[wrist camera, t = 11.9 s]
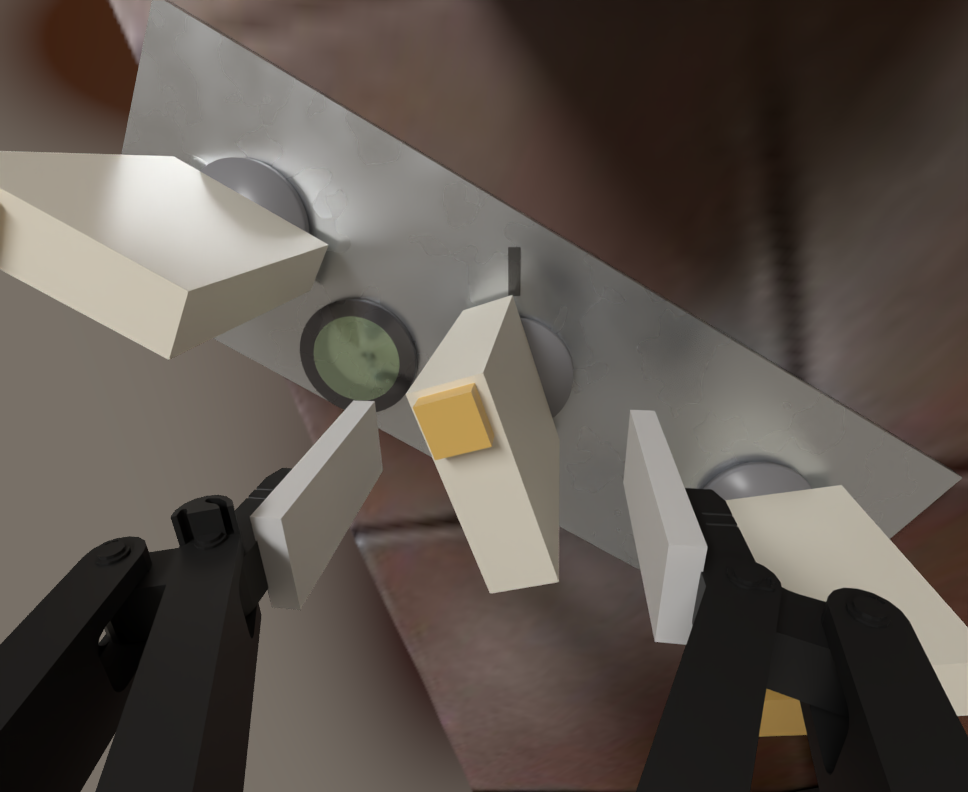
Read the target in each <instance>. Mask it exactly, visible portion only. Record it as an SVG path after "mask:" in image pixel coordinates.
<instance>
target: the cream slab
mask: <svg viewBox="0 0 968 792" xmlns="http://www.w3.org/2000/svg"><path fill="white" fill-rule="evenodd" d="M327 248H328V244H326V243H325V242H323V241H321V240H319V239H318V238H316V237H314V236H312V235H311V234H309V223H308V219H307V214H306V211H305V208H304V206H303V203H302V201H301V199H300V197H299V196H298V194H297V192H296V191H295V189H294V188H293V187H292V185H291V184H290V183H289V182H288V181H287V180H286V178H285V177H284V176H282V175H281V174H280V173H279V172H278V171H276V170H275V169H273V168H272V167H270V166H269V165H267V164H265V163H263V162H260V161H257V160H254V159H249V158H237V157H229V158H222V159H219V160H215V161H213V162H211V163H209V164H208V165H206V166H205V167H203V168H202V169H201V170H200V171H199V170H197V169H195V168H193V167H192V166H190V165H188V164H186V163H185V162H183V161H181V160H179V159H178V158H176V157H174V156H150V155H115V154H83V153H50V152H16V151H15V152H14V151H0V270H2V271H4V272H6V273H8V274H10V275H12V276H13V277H15V278H17V279H19V280H21V281H23V282H25V283H26V284H28V285H30V286H32V287H34V288H36V289H37V290H39V291H41V292H43V293H45V294H47V295H49V296H51V297H52V298H54V299H56V300H58V301H60V302H62V303H64V304H65V305H67V306H69V307H71V308H73V309H75V310H77V311H79V312H80V313H82V314H84V315H86V316H88V317H90V318H92V319H93V320H95V321H97V322H99V323H101V324H103V325H105V326H107V327H108V328H110V329H112V330H114V331H116V332H118V333H120V334H122V335H123V336H125V337H127V338H129V339H131V340H133V341H135V342H136V343H138V344H140V345H142V346H144V347H146V348H148V349H150V350H151V351H153V352H155V353H157V354H159V355H161V356H163V357H165V358H167V359H168V360H170V359H172V358H174V357H176V356H178V355H180V354H182V353H184V352H186V351H188V350H190V349H192V348H194V347H196V346H198V345H200V344H202V343H204V342H206V341H208V340H211V339H213V338H215V337H217V336H219V335H221V334H223V333H225V332H227V331H229V330H231V329H233V328H235V327H237V326H239V325H241V324H243V323H245V322H247V321H249V320H251V319H253V318H255V317H257V316H260V315H262V314H264V313H266V312H268V311H270V310H272V309H274V308H276V307H278V306H280V305H282V304H284V303H286V302H288V301H290V300H292V299H294V298H296V297H298V296H300V295H302V294H304V293H306V292H309V291H311V288H312V286H313V283H314V281H315V278H316V276H317V273H318V271H319V268H320V265H321V263H322V260H323V258H324V255H325V253H326V250H327Z"/></svg>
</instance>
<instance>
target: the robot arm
mask: <svg viewBox="0 0 968 792" xmlns="http://www.w3.org/2000/svg"><path fill="white" fill-rule="evenodd" d="M382 471H383V468H382V459H381V450H380V442H379V433H378V425H377V416H376V408H375V401H353V402H352V403H351V404H350V405H349V406H348V407H347V408H346V409H345V411H344V412H343V413H342V414H341V415H340V416H339V417H338V418H337V419H336V421H335V422H334V423H333V424H332V425H331V426H330V427H329V428H328V430H327V431H326V432H325V433H324V434H323V435H322V436H321V437H320V439H319V440H318V441H317V442H316V443H315V444H314V445H313V446H312V448H311V449H310V450H309V451H308V452H307V453H306V454H305V455H304V456H303V458H302V459H301V460H300V461H299V462H298V463H297V464H296V465H295V467H294V468H293V469H290V468H281V469H280V470H278V471H276V472H275V473H273V474H271V475H270V476H268V477H266V479H264V481H263V482H262V483H261V484H260V485H259V486H258V487H257V490H254V491H253V492H252V493H251V494H250V495H249V498H247V499H245V501H244V502H243V503H242V504H241V505H240V506H239V507H238V508H237V509H236V510H234V506H233V502H232V500H231V499H230V498H228V497H227V496H221V495H212V496H204V497H201V498H197V499H194V500H192V501H190V502H187V503H185V504H183V505H182V506H181V507H179V508H178V509H176V510H175V512H174V513H173V514H172V516H171V520H172V523H173V526H174V529H175V532H176V536H177V539H178V542H179V545H180V547H179V548H175V549H169V550H162V551H155V552H149V551H148V549H147V546H146V543H145V540H143V539H141V538H139V537H123V538H117V539H113V540H111V541H107V542H105V543H103V544H101V545H100V546H98V547H96V548H94V549H92V550H91V551H90V552H89V553H87V554H86V555H85V556H84V557H83V558H82V559H81V560H80V561H79V562H78V563H77V564H76V565H75V566H74V567H73V568H72V570H70V572H69V573H68V574H67V575H66V576H65V577H64V578H63V579H62V580H61V581H60V582H59V583H58V584H57V585H56V587H54V589H52V590H51V592H50V593H49V594H48V595H47V596H46V597H45V598H44V599H43V600H42V601H41V602H40V603H39V604H38V605H37V606H36V608H34V610H33V611H32V612H31V613H30V614H29V615H28V616H27V617H26V618H25V619H24V620H23V621H22V622H21V623H20V624H19V625H18V627H17V628H16V629H15V630H14V631H13V632H12V633H11V634H10V635H9V636H8V637H7V638H6V639H5V640H4V641H3V642H2V644H0V792H80V791H81V790H82V788H83V786H84V785H85V783H86V781H87V780H88V778H89V776H90V775H91V773H92V771H93V770H94V768H95V766H96V764H97V763H98V761H99V759H100V758H101V756H102V754H103V753H104V751H105V749H106V748H107V746H108V744H109V743H110V741H111V739H112V737H113V736H114V734H115V736H114V739H113V742H112V745H111V748H110V751H109V754H108V756H107V760H106V763H105V765H104V768H103V771H102V774H101V777H100V780H99V783H98V786H97V789H96V792H243V788H244V778H245V768H246V759H247V749H248V740H249V729H250V719H251V711H252V701H253V692H254V682H255V672H256V662H257V652H258V643H259V634H260V624H261V612H260V607H259V604H258V602H259V601H260V599H261V598H262V597H263V595H264V594H265V592H266V591H267V590H268V593H269V598H270V602H271V606H272V607H275V608H286V609H297V610H301V608H302V607H303V605H304V603H305V601H306V600H307V598H308V596H309V595H310V593H311V591H312V590H313V588H314V586H315V584H316V583H317V581H318V579H319V578H320V576H321V574H322V573H323V571H324V569H325V567H326V566H327V564H328V562H329V561H330V559H331V557H332V556H333V554H334V552H335V551H336V549H337V547H338V545H339V544H340V542H341V540H342V539H343V537H344V535H345V534H346V532H347V530H348V528H349V527H350V525H351V523H352V522H353V520H354V518H355V517H356V515H357V513H358V512H359V510H360V508H361V506H362V505H363V503H364V501H365V500H366V498H367V496H368V495H369V493H370V491H371V489H372V488H373V486H374V484H375V483H376V481H377V479H378V478H379V476H380V474H381V472H382ZM623 484H624V489H625V494H626V499H627V504H628V509H629V514H630V519H631V524H632V529H633V534H634V540H635V545H636V550H637V555H638V560H639V565H640V570H641V575H642V580H643V585H644V590H645V595H646V600H647V605H648V610H649V615H650V620H651V625H652V630H653V635H654V640H655V642H663V643H674V644H685V645H686V647H685V650H684V653H683V656H682V659H681V662H680V665H679V667H678V670H677V673H676V676H675V679H674V682H673V685H672V688H671V691H670V694H669V697H668V700H667V703H666V706H665V708H664V711H663V714H662V717H661V720H660V723H659V726H658V729H657V732H656V735H655V738H654V741H653V744H652V747H651V750H650V752H649V755H648V758H647V761H646V764H645V767H644V770H643V773H642V776H641V779H640V782H639V785H638V788H637V791H636V792H750V788H751V782H752V776H753V770H754V763H755V757H756V751H757V745H758V739H759V732H760V726H761V720H762V714H763V707H764V701H765V695H766V689H769V690H772V691H775V692H777V693H780V694H783V695H786V696H788V697H791V698H794V699H797V700H799V701H800V705H801V710H802V714H803V719H804V723H805V727H806V732H807V736H808V741H809V745H810V750H811V754H812V759H813V763H814V768H815V772H816V777H817V781H818V786H819V788H813V789H806V790H802V791H797V792H968V736H967V734H966V732H965V730H964V728H963V726H962V724H961V723H960V721H959V719H958V717H957V715H956V713H955V711H954V709H953V707H952V705H951V703H950V701H949V699H948V697H947V695H946V693H945V691H944V689H943V687H942V685H941V683H940V681H939V679H938V677H937V675H936V673H935V671H934V669H933V667H932V665H931V663H930V661H929V659H928V657H927V655H926V653H925V651H924V649H923V647H922V645H921V643H920V641H919V639H918V637H917V635H916V633H915V631H914V629H913V627H912V625H911V623H910V621H909V620H908V619H907V617H906V616H905V615H904V613H903V612H902V611H901V610H900V609H899V608H897V607H896V606H895V605H893V604H892V603H891V602H889V601H888V600H886V599H884V598H882V597H880V596H878V595H876V594H874V593H871V592H868V591H864V590H861V589H856V588H840V589H837V590H833V591H832V593H831V594H830V595H829V596H828V598H827V601H826V602H825V601H821V600H818V599H814V598H811V597H807V596H804V595H800V594H797V593H795V592H792V591H789V590H787V589H785V588H783V587H781V582H780V581H779V579H778V578H777V577H776V575H775V574H774V573H773V572H772V571H770V570H769V569H768V568H766V567H765V566H763V565H761V564H759V563H757V562H756V561H755V559H754V557H753V555H752V553H751V551H750V549H749V547H748V545H747V543H746V541H745V539H744V537H743V535H742V533H741V531H740V529H739V527H737V523H736V521H735V519H734V517H733V516H732V513H731V511H730V509H729V507H728V505H727V503H726V501H725V500H724V499H723V498H722V497H720V496H719V495H718V494H717V493H716V492H714V491H713V490H712V489H696V488H685V487H684V485H683V482H682V480H681V477H680V475H679V472H678V469H677V467H676V464H675V462H674V459H673V456H672V454H671V451H670V449H669V446H668V444H667V441H666V438H665V436H664V433H663V431H662V428H661V425H660V423H659V420H658V418H657V415H656V413H655V411H650V410H630V417H629V428H628V438H627V448H626V459H625V469H624V480H623ZM104 629H105V632H106V635H105V636H104V637H103V639H102V640H101V641H100V642H99V638H100V636H101V634H102V632H103V630H104ZM98 642H99V643H98ZM115 732H116V733H115Z"/></svg>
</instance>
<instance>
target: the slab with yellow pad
mask: <svg viewBox="0 0 968 792" xmlns="http://www.w3.org/2000/svg"><path fill="white" fill-rule="evenodd" d="M704 489H712V490H713V491H714V492H716V493H717V494H718V495H719V496H720V497H722V498H723V499H724V500H725V501H726V503H727V505H728V507H729V509H730V511H731V513H732V516H733V517H734V519H735V521H736V523H737V527H739V529H740V531H741V533H742V535H743V537H744V539H745V541H746V543H747V545H748V547H749V549H750V551H751V553H752V555H753V557H754V559H755V561H756V562H757V563H759V564H761V565H763V566H765V567H766V568H768V569H769V570H770V571H772V572H773V573H774V574H775V575H776V577H777V578H778V579H779V581H780V582H781V587H783V588H785V589H787V590H789V591H792V592H795V593H797V594H800V595H804V596H807V597H811V598H814V599H818V600H821V601H825V602H826V601H827V598H828V596H829V595H830V594H831V593H832V591H833V590H837V589H840V588H856V589H861V590H864V591H868V592H871V593H874V594H876V595H878V596H880V597H882V598H884V599H886V600H888V601H889V602H891V603H892V604H893V605H895V606H896V607H897V608H899V609H900V610H901V611H902V612H903V613H904V615H905V616H906V617H907V619H908V620H909V621H910V623H911V625H912V627H913V629H914V631H915V633H916V635H917V637H918V639H919V641H920V643H921V645H922V647H923V649H924V651H925V653H926V655H927V657H928V659H929V661H930V663H931V665H932V667H933V669H934V671H935V673H936V675H937V677H938V679H939V681H940V683H941V685H942V687H943V689H944V691H945V693H946V695H947V697H948V699H949V701H950V703H951V705H952V707H953V709H954V711H955V713H956V715H957V716H965V715H968V627H967V626H966V625H965V624H964V623H963V622H962V621H961V619H960V618H959V617H958V616H957V615H956V614H955V613H954V612H953V610H952V609H951V608H950V607H949V606H948V605H947V604H946V603H945V601H944V600H943V599H942V598H941V597H940V596H939V595H938V593H937V592H936V591H935V590H934V589H933V588H932V587H931V586H930V584H929V583H928V582H927V581H926V580H925V579H924V578H923V577H922V575H921V574H920V573H919V572H918V571H917V570H916V569H915V567H914V566H913V565H912V564H911V563H910V562H909V561H908V560H907V558H906V557H905V556H904V555H903V554H902V553H901V552H900V551H899V549H898V548H897V547H896V546H895V545H894V544H893V543H892V541H891V540H890V539H889V538H888V537H887V536H886V535H885V534H884V532H883V531H882V530H881V529H880V528H879V527H878V526H877V525H876V523H875V522H874V521H873V520H872V519H871V518H870V517H869V516H868V514H867V513H866V512H865V511H864V510H863V509H862V508H861V506H860V505H859V504H858V503H857V502H856V501H855V500H854V499H853V497H852V496H851V495H850V494H849V493H848V492H847V491H846V490H845V488H844V487H843V486H842V485H837V486H830V487H822V488H815V489H812V487H811V486H810V485H809V483H808V482H807V481H806V479H805V478H804V477H802V476H801V475H800V474H799V473H798V472H796V471H795V470H793V469H791V468H789V467H787V466H784V465H781V464H777V463H772V462H749V463H744V464H740V465H737V466H734V467H731V468H729V469H727V470H725V471H723V472H721V473H720V474H718V475H717V476H715V477H714V478H713V479H712V480H711V481H710V482H709V483H708V484H707V485H706V486H705V487H704ZM788 735H807V732H806V727H805V723H804V719H803V714H802V710H801V705H800V701H799V700H797V699H794V698H791V697H788V696H786V695H783V694H780V693H777V692H775V691H772V690H769V689H766V695H765V701H764V707H763V714H762V720H761V726H760V732H759V737H761V736H788Z"/></svg>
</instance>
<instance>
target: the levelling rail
mask: <svg viewBox="0 0 968 792" xmlns="http://www.w3.org/2000/svg"><path fill="white" fill-rule="evenodd" d="M121 155H150V156H174V157H176V158H178V159H179V160H181V161H183V162H185V163H186V164H188V165H190V166H192V167H193V168H195V169H197V170H199V171H200V170H201V169H202V168H203V167H205V166H206V165H208V164H209V163H211V162H213V161H215V160H219V159H222V158H229V157H237V158H249V159H254V160H257V161H260V162H263V163H265V164H267V165H269V166H270V167H272V168H273V169H275V170H276V171H278V172H279V173H280V174H281V175H282V176H284V177H285V178H286V180H287V181H288V182H289V183H290V184H291V185H292V187H293V188H294V189H295V191H296V192H297V194H298V196H299V197H300V199H301V201H302V203H303V206H304V208H305V211H306V214H307V219H308V223H309V234H311V235H312V236H314V237H316V238H318V239H319V240H321V241H323V242H325V243H326V244H328V248H327V250H326V253H325V255H324V258H323V260H322V263H321V265H320V268H319V271H318V273H317V276H316V278H315V281H314V283H313V286H312V288H311V291H309V292H306V293H304V294H302V295H300V296H298V297H296V298H294V299H292V300H290V301H288V302H286V303H284V304H282V305H280V306H278V307H276V308H274V309H272V310H270V311H268V312H266V313H264V314H262V315H260V316H257V317H255V318H253V319H251V320H249V321H247V322H245V323H243V324H241V325H239V326H237V327H235V328H233V329H231V330H229V331H227V332H225V333H223V334H221V335H219V336H217V337H215V338H213V339H215V340H217V341H219V342H221V343H223V344H225V345H226V346H228V347H230V348H232V349H234V350H236V351H237V352H239V353H241V354H243V355H245V356H247V357H248V358H250V359H252V360H254V361H256V362H258V363H260V364H261V365H263V366H265V367H267V368H269V369H271V370H272V371H274V372H276V373H278V374H280V375H282V376H283V377H285V378H287V379H289V380H291V381H293V382H294V383H296V384H298V385H300V386H302V387H304V388H305V389H307V390H309V391H311V392H313V393H315V394H317V395H318V396H320V397H322V398H324V399H326V400H328V401H329V402H331V403H333V404H334V405H336V406H338V407H340V408H342V409H344V410H345V409H346V408H347V407H348V406H349V405H350V404H351V403H352V402H353V401H375V408H376V416H377V425H378V428H379V429H381V430H383V431H385V432H386V433H388V434H390V435H392V436H394V437H396V438H398V439H399V440H401V441H403V442H405V443H407V444H409V445H410V446H412V447H414V448H416V449H418V450H420V451H421V452H423V453H425V454H427V455H429V456H431V457H432V455H431V453H430V451H429V448H428V446H427V444H426V441H425V439H424V437H423V434H422V432H421V430H420V427H419V425H418V423H417V420H416V418H415V415H414V413H413V411H412V408H411V406H410V404H409V401H408V399H407V397H406V393H407V391H408V390H409V388H410V387H411V386H412V384H413V383H414V381H415V380H416V378H417V377H418V375H419V374H420V372H421V371H422V370H423V368H424V367H425V365H426V364H427V362H428V361H429V359H430V358H431V356H432V355H433V353H434V352H435V351H436V349H437V348H438V346H439V345H440V343H441V342H442V340H443V339H444V337H445V336H446V335H447V333H448V332H449V330H450V329H451V327H452V326H453V324H454V323H455V321H456V320H457V318H458V317H459V316H460V314H461V313H462V311H463V310H466V309H469V308H472V307H475V306H479V305H482V304H485V303H488V302H491V301H495V300H498V299H501V298H504V297H507V296H510V295H513V298H514V301H515V304H516V307H517V310H518V313H519V316H520V318H527V319H530V320H534V321H536V322H539V323H541V324H543V325H544V326H546V327H548V328H549V329H551V330H552V331H553V332H554V333H555V334H556V335H557V336H558V337H559V338H560V339H561V340H562V342H563V343H564V344H565V346H566V348H567V350H568V352H569V354H570V357H571V361H572V365H573V386H572V390H571V393H570V396H569V399H568V400H567V402H566V404H565V406H564V407H563V408H562V410H561V411H560V412H559V413H558V414H557V415H556V416H555V417H554V418H553V421H554V424H555V428H556V431H557V434H558V437H559V440H560V465H559V527H561V528H563V529H565V530H567V531H569V532H571V533H572V534H574V535H576V536H578V537H580V538H582V539H583V540H585V541H587V542H589V543H591V544H593V545H594V546H596V547H598V548H600V549H602V550H604V551H606V552H607V553H609V554H611V555H613V556H615V557H617V558H618V559H620V560H622V561H624V562H626V563H628V564H629V565H631V566H633V567H635V568H637V569H639V570H640V565H639V560H638V555H637V550H636V545H635V540H634V534H633V529H632V524H631V519H630V514H629V509H628V504H627V499H626V494H625V489H624V484H623V480H624V469H625V459H626V448H627V438H628V428H629V417H630V410H650V411H655V413H656V415H657V418H658V420H659V423H660V425H661V428H662V431H663V433H664V436H665V438H666V441H667V444H668V446H669V449H670V451H671V454H672V456H673V459H674V462H675V464H676V467H677V469H678V472H679V475H680V477H681V480H682V482H683V485H684V487H685V488H696V489H704V487H705V486H706V485H707V484H708V483H709V482H710V481H711V480H712V479H713V478H714V477H715V476H717V475H718V474H720V473H721V472H723V471H725V470H727V469H729V468H731V467H734V466H737V465H740V464H744V463H749V462H772V463H777V464H781V465H784V466H787V467H789V468H791V469H793V470H795V471H796V472H798V473H799V474H800V475H801V476H802V477H804V478H805V479H806V481H807V482H808V483H809V485H810V486H811V487H812V489H815V488H822V487H830V486H837V485H842V486H843V487H844V488H845V490H846V491H847V492H848V493H849V494H850V495H851V496H852V497H853V499H854V500H855V501H856V502H857V503H858V504H859V505H860V506H861V508H862V509H863V510H864V511H865V512H866V513H867V514H868V516H869V517H870V518H871V519H872V520H873V521H874V522H875V523H876V525H877V526H878V527H879V528H880V529H881V530H882V531H883V532H884V534H885V535H886V536H887V537H888V538H889V539H890V538H891V537H893V536H894V535H895V534H896V533H897V532H898V531H900V530H901V529H902V528H903V527H904V526H906V525H907V524H908V523H909V522H910V521H912V520H913V519H914V518H915V517H916V516H918V515H919V514H920V513H921V512H922V511H923V510H925V509H926V508H927V507H928V506H929V505H931V504H932V503H933V502H934V501H935V500H937V499H938V498H939V497H940V496H941V495H943V494H944V493H945V492H946V491H947V490H949V489H950V488H951V487H952V486H953V485H954V484H956V483H957V482H958V481H959V480H960V479H962V477H961V476H959V475H958V474H957V473H956V472H954V471H953V470H952V469H950V468H949V467H947V466H946V465H944V464H942V463H941V462H939V461H937V460H936V459H934V458H932V457H931V456H929V455H927V454H925V453H924V452H922V451H920V450H919V449H917V448H915V447H914V446H912V445H910V444H909V443H907V442H905V441H904V440H902V439H900V438H899V437H897V436H895V435H894V434H892V433H890V432H889V431H887V430H885V429H884V428H882V427H880V426H879V425H877V424H875V423H874V422H872V421H870V420H869V419H867V418H865V417H864V416H862V415H860V414H859V413H857V412H855V411H854V410H852V409H850V408H849V407H847V406H845V405H844V404H842V403H840V402H839V401H837V400H835V399H834V398H832V397H830V396H829V395H827V394H825V393H824V392H822V391H820V390H819V389H817V388H815V387H814V386H812V385H810V384H809V383H807V382H805V381H804V380H802V379H800V378H798V377H797V376H795V375H793V374H792V373H790V372H788V371H787V370H785V369H783V368H782V367H780V366H778V365H777V364H775V363H773V362H772V361H770V360H768V359H767V358H765V357H763V356H762V355H760V354H758V353H757V352H755V351H753V350H752V349H750V348H748V347H747V346H745V345H743V344H742V343H740V342H738V341H737V340H735V339H733V338H732V337H730V336H728V335H727V334H725V333H723V332H722V331H720V330H718V329H717V328H715V327H713V326H712V325H710V324H708V323H707V322H705V321H703V320H702V319H700V318H698V317H697V316H695V315H693V314H692V313H690V312H688V311H687V310H685V309H683V308H682V307H680V306H678V305H677V304H675V303H673V302H672V301H670V300H668V299H666V298H665V297H663V296H661V295H660V294H658V293H656V292H655V291H653V290H651V289H650V288H648V287H646V286H645V285H643V284H641V283H640V282H638V281H636V280H635V279H633V278H631V277H630V276H628V275H626V274H625V273H623V272H621V271H620V270H618V269H616V268H615V267H613V266H611V265H610V264H608V263H606V262H605V261H603V260H601V259H600V258H598V257H596V256H595V255H593V254H591V253H590V252H588V251H586V250H585V249H583V248H581V247H580V246H578V245H576V244H575V243H573V242H571V241H570V240H568V239H566V238H565V237H563V236H561V235H560V234H558V233H556V232H555V231H553V230H551V229H550V228H548V227H546V226H545V225H543V224H541V223H540V222H538V221H536V220H534V219H533V218H531V217H529V216H528V215H526V214H524V213H523V212H521V211H519V210H518V209H516V208H514V207H513V206H511V205H509V204H508V203H506V202H504V201H503V200H501V199H499V198H498V197H496V196H494V195H493V194H491V193H489V192H488V191H486V190H484V189H483V188H481V187H479V186H478V185H476V184H474V183H473V182H471V181H469V180H468V179H466V178H464V177H463V176H461V175H459V174H458V173H456V172H454V171H453V170H451V169H449V168H448V167H446V166H444V165H443V164H441V163H439V162H438V161H436V160H434V159H433V158H431V157H429V156H428V155H426V154H424V153H423V152H421V151H419V150H418V149H416V148H414V147H413V146H411V145H409V144H407V143H406V142H404V141H402V140H401V139H399V138H397V137H396V136H394V135H392V134H391V133H389V132H387V131H386V130H384V129H382V128H381V127H379V126H377V125H376V124H374V123H372V122H371V121H369V120H367V119H366V118H364V117H362V116H361V115H359V114H357V113H356V112H354V111H352V110H351V109H349V108H347V107H346V106H344V105H342V104H341V103H339V102H337V101H336V100H334V99H332V98H331V97H329V96H327V95H326V94H324V93H322V92H321V91H319V90H317V89H316V88H314V87H312V86H311V85H309V84H307V83H306V82H304V81H302V80H301V79H299V78H297V77H296V76H294V75H292V74H291V73H289V72H287V71H286V70H284V69H282V68H281V67H279V66H277V65H275V64H274V63H272V62H270V61H269V60H267V59H265V58H264V57H262V56H260V55H259V54H257V53H255V52H254V51H252V50H250V49H249V48H247V47H245V46H244V45H242V44H240V43H239V42H237V41H235V40H234V39H232V38H230V37H229V36H227V35H225V34H224V33H222V32H220V31H219V30H217V29H215V28H214V27H212V26H210V25H209V24H207V23H205V22H204V21H202V20H200V19H199V18H197V17H195V16H194V15H192V14H190V13H189V12H187V11H185V10H184V9H182V8H180V7H179V6H177V5H175V4H174V3H172V2H170V1H169V0H152V3H151V8H150V13H149V18H148V23H147V28H146V33H145V38H144V43H143V48H142V53H141V58H140V64H139V69H138V74H137V79H136V84H135V89H134V94H133V99H132V104H131V110H130V114H129V119H128V124H127V129H126V135H125V139H124V144H123V149H122V154H121ZM640 571H641V570H640Z"/></svg>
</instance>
